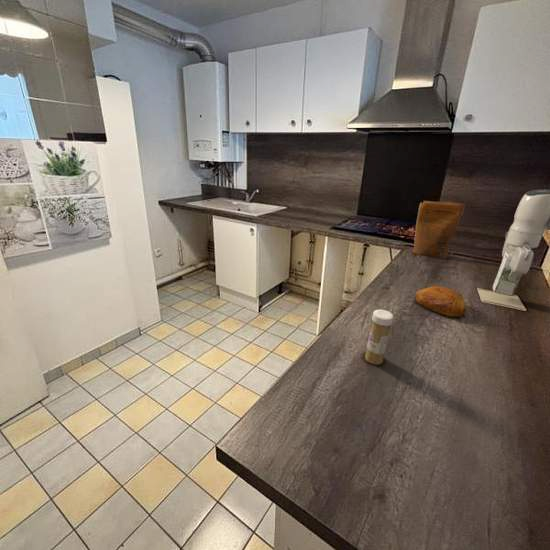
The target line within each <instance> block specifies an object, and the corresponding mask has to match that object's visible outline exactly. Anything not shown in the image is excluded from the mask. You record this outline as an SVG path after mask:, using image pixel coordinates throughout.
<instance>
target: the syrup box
mask: <svg viewBox="0 0 550 550" xmlns="http://www.w3.org/2000/svg"><path fill="white" fill-rule="evenodd" d="M511 258H512V255H511V254H510V253H509V252H505V255H504V257H503V256H502V260H501V263H500V265H499V268H498V270H497V274H496V276H495V279H494V281H493V284H492V291H494V293H499V294H503V295H508V296H513V295H515V292H516V290H517V287H518V284H519V282H520V280H521V277H522V275H523V274H520V273H519V274H518V276H517V277H516V279H515V281H509V280H508V276H509V275H510V273H511V268H510V266H509V263H510V261H511Z"/></svg>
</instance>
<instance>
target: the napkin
mask: <svg viewBox="0 0 550 550" xmlns="http://www.w3.org/2000/svg"><path fill="white" fill-rule="evenodd" d="M476 290H477V293H478V296H479V299H480V301H481V303H485V304H490V305H494V306H500V307H504V308H510V309H514V310H519V311H523V312H527V309H526V307H525V305H524V304H523V302H522V301H521V299H520V297H519V296H518V295H517V294H513V296H508V295H503V294H499V293H494V291H493V290H490V289H486V288H479V287H477V288H476Z"/></svg>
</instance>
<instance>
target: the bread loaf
mask: <svg viewBox="0 0 550 550" xmlns="http://www.w3.org/2000/svg"><path fill="white" fill-rule="evenodd" d="M462 297H463V296H462V294H460V293H459V292H457V291H456V290H453V289H450V288H447V287H445V286H444V287H443V286H439V285H431V286H429V287H426V288H423V289H420V290H418V291H416V292H415V300H416V302H417V304H419V305H420V306H422V307H424V308H425V309H428V310H431V311H433V312H436V313H438V314H441V315H444V316H447V317H457V318H460V317H462V316H463V315H464V314H465V312H466V311H467V306H466V302H465V301H464V298H462Z"/></svg>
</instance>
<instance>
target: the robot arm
mask: <svg viewBox="0 0 550 550" xmlns="http://www.w3.org/2000/svg"><path fill="white" fill-rule="evenodd" d="M545 230H548V231H550V189H546V188H545V189H533V190H529V191H527V192H526V193H525V194H524V195H523V196H522V197H521V199H520V201H519V203H518V205H517V208H516V210H515V212H514V216H513V223H512V224H511V225H510V227H509V229H508V231H507V232H505V235H504V238H505V240H504V244H503V247H502V250H501V257H502V258H503V257H504V255H505V252H509V253H510V254H511V255H512V258H511V261H510V263H509V266H510V268H511V273H510V275H509V276H508V280H509V281H515V279H516V277H517V276H518V274H519V273H520V274H522V275H526V274H528V272H529V271H530V268H531V265H532V262H533V259H534V255H535V254H534V251H533V250H532V249H536V248H538V247H539V245H540V242H541V240H542V238H543V234H544V232H545Z"/></svg>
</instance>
